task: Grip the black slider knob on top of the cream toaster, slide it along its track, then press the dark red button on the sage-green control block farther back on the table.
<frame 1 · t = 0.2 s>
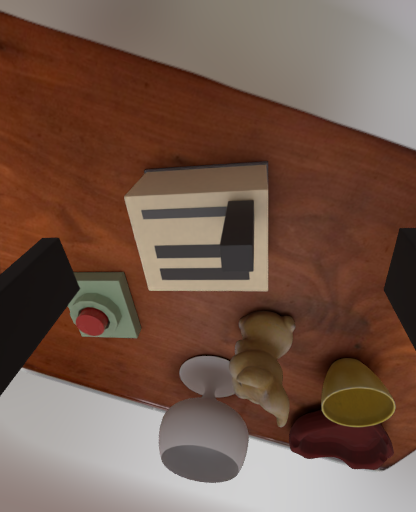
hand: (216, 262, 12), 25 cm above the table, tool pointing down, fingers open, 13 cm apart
chalice: (212, 374, 58), on the table
toaster slider: (239, 232, 26), point 12 cm above the table, slide at 0.0 cm
figurine: (260, 321, 49), on the table
start button: (92, 321, 47), point 4 cm above the table, slide at 0.1 cm
control block: (104, 301, 50), on the table
ashtray: (340, 416, 60), on the table
toaster: (210, 213, 39), on the table
flower pot: (345, 366, 52), on the table
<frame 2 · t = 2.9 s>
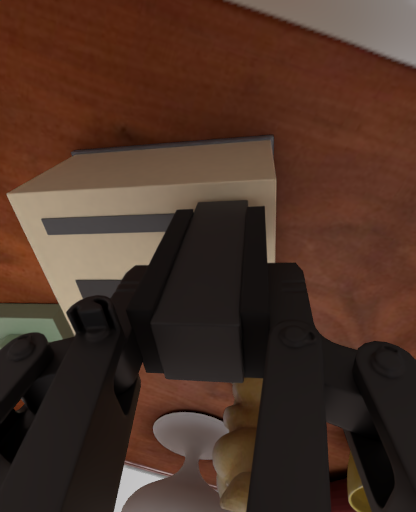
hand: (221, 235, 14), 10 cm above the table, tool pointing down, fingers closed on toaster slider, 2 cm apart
chalice: (196, 432, 43), on the table
toaster slider: (215, 271, 12), point 12 cm above the table, slide at 0.0 cm, touching gripper
figurine: (260, 372, 34), on the table
control block: (43, 341, 36), on the table
ashtray: (366, 485, 45), on the table
toaster: (181, 221, 25), on the table
flower pot: (378, 430, 37), on the table
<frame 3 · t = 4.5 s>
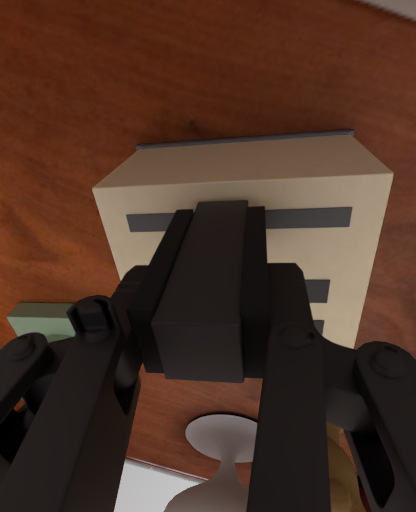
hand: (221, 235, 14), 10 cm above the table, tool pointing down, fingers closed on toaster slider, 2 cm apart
chalice: (229, 435, 43), on the table
toaster slider: (215, 270, 12), point 12 cm above the table, slide at 4.9 cm, touching gripper
figurine: (304, 374, 34), on the table
control block: (80, 342, 35), on the table
toaster: (242, 219, 24), on the table
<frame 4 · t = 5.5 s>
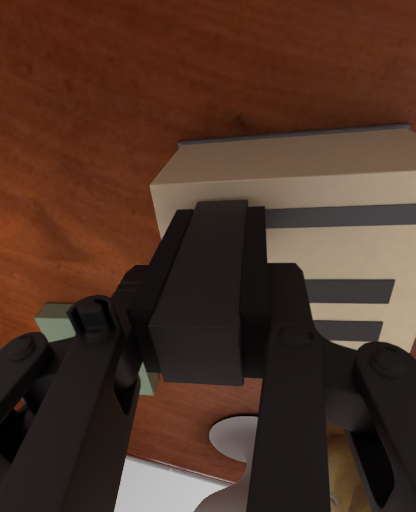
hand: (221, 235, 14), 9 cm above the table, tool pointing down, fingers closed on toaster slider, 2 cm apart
chalice: (253, 436, 42), on the table
toaster slider: (214, 271, 12), point 12 cm above the table, slide at 8.0 cm, touching gripper
figurine: (336, 375, 33), on the table
control block: (106, 343, 35), on the table
toaster: (283, 217, 23), on the table
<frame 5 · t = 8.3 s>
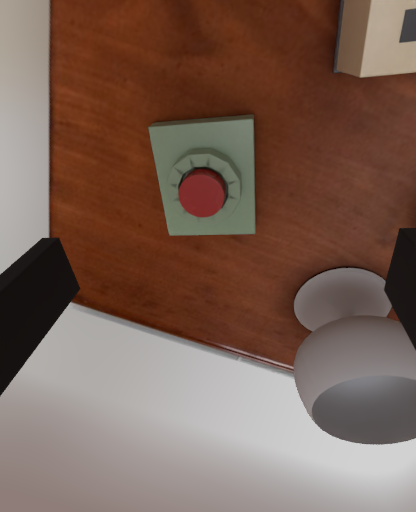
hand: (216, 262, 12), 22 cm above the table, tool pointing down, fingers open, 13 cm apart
chalice: (340, 302, 41), on the table
start button: (202, 193, 30), point 4 cm above the table, slide at 0.1 cm
control block: (208, 177, 34), on the table
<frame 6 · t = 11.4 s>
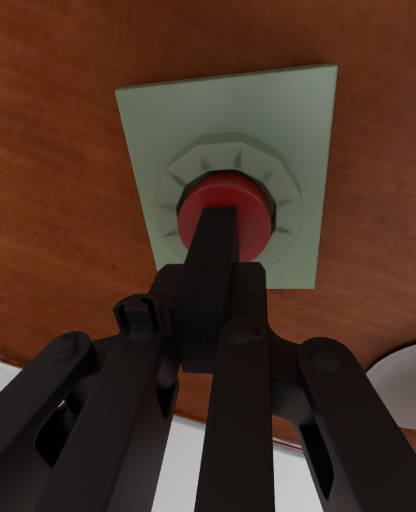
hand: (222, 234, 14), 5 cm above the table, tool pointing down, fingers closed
start button: (225, 221, 15), point 4 cm above the table, slide at -0.1 cm, touching gripper
control block: (231, 188, 19), on the table
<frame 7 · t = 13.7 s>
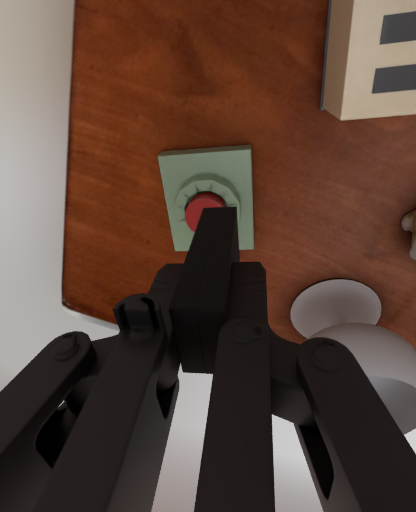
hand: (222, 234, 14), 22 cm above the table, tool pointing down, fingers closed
chalice: (333, 310, 44), on the table
start button: (206, 214, 34), point 4 cm above the table, slide at 0.1 cm
control block: (211, 198, 37), on the table
toaster: (413, 22, 26), on the table
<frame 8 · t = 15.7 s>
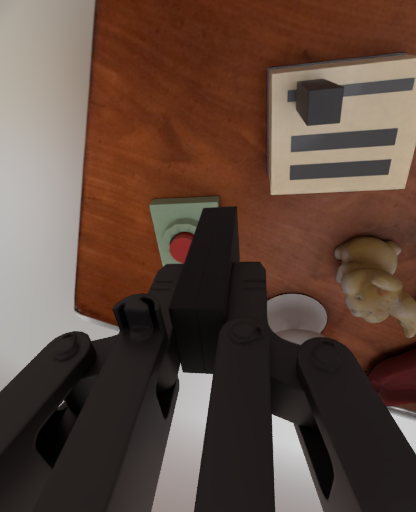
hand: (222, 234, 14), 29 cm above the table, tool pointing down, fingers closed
chalice: (290, 317, 56), on the table
toaster slider: (316, 100, 26), point 12 cm above the table, slide at 8.0 cm
figurine: (355, 251, 47), on the table
start button: (185, 248, 45), point 4 cm above the table, slide at 0.1 cm
control block: (191, 233, 49), on the table
toaster: (327, 120, 37), on the table
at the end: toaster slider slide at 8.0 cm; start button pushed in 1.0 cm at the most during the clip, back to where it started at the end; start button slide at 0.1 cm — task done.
